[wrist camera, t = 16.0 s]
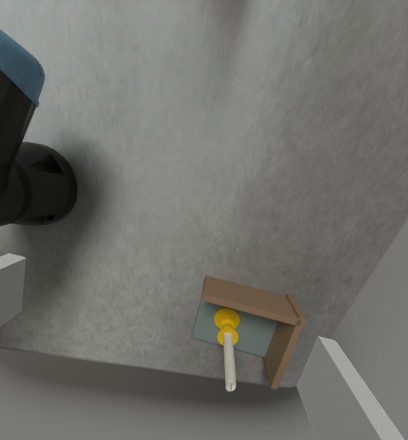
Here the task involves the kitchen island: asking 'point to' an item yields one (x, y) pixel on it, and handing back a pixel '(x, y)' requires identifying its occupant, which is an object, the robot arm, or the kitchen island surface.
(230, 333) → the candle
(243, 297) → the open room model
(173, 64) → the kitchen island surface
